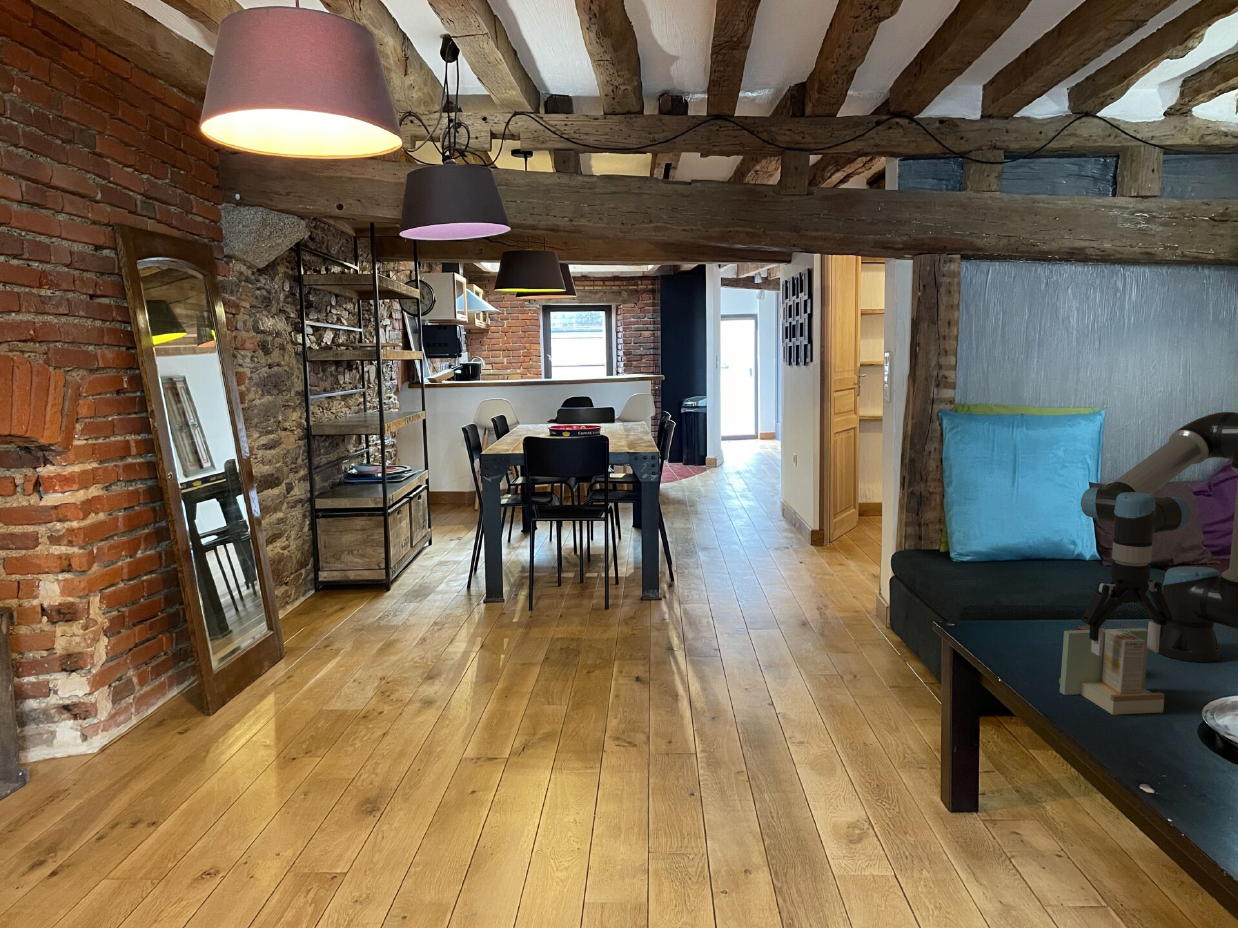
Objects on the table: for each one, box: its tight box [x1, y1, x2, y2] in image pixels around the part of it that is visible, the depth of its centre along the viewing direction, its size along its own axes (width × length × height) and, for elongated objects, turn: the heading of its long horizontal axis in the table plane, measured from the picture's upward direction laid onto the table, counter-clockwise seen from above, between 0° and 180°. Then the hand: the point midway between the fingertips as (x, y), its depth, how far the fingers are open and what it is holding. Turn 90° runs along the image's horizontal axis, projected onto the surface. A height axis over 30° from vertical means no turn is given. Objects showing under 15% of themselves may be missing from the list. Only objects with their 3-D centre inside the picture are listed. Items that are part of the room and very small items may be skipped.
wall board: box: [1058, 627, 1166, 716], centre depth 192 cm, size 20×18×15 cm
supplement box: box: [1102, 628, 1145, 694], centre depth 189 cm, size 8×5×13 cm, turn 177°
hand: (1124, 652), depth 188 cm, fingers open, 13 cm apart
